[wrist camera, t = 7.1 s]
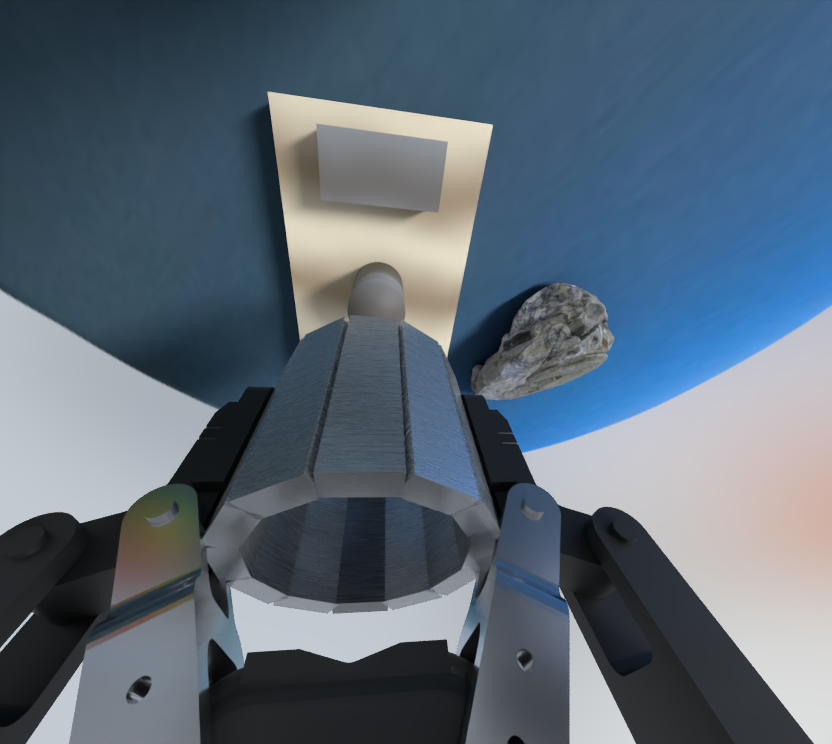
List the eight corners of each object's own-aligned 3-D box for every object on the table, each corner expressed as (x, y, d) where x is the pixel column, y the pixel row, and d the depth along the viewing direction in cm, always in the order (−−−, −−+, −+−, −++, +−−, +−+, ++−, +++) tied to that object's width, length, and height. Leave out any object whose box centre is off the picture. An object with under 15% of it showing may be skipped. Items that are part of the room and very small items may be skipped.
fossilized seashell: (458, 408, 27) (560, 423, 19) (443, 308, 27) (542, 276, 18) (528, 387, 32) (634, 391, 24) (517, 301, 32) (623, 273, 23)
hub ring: (272, 310, 10) (152, 472, 5) (468, 322, 10) (539, 473, 5) (296, 446, 13) (242, 618, 8) (440, 448, 14) (468, 606, 9)
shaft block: (280, 97, 16) (232, 75, 11) (483, 126, 17) (519, 118, 12) (311, 374, 26) (293, 424, 22) (436, 379, 28) (446, 428, 23)
